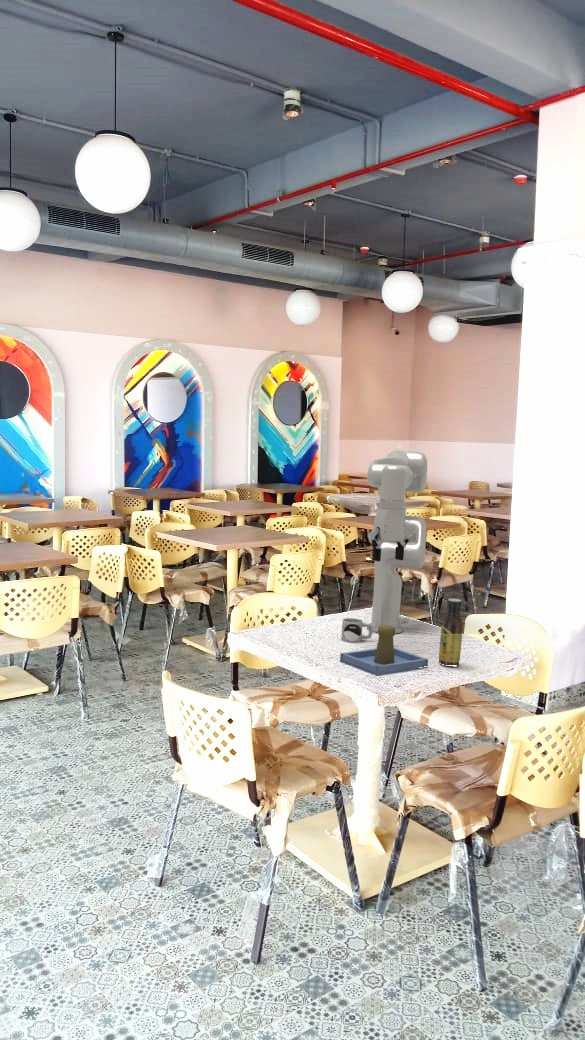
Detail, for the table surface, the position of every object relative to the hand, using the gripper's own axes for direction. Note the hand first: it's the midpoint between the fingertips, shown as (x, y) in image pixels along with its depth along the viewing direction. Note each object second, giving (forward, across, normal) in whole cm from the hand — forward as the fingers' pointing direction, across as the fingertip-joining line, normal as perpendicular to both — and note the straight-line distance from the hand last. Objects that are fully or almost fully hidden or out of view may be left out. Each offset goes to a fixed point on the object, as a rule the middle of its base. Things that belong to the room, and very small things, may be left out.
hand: (387, 560), depth 256 cm
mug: (+29, 0, -12) cm, 31 cm away
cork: (+28, +12, +14) cm, 33 cm away
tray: (+28, +12, +14) cm, 34 cm away
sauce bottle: (+28, -6, +23) cm, 37 cm away
